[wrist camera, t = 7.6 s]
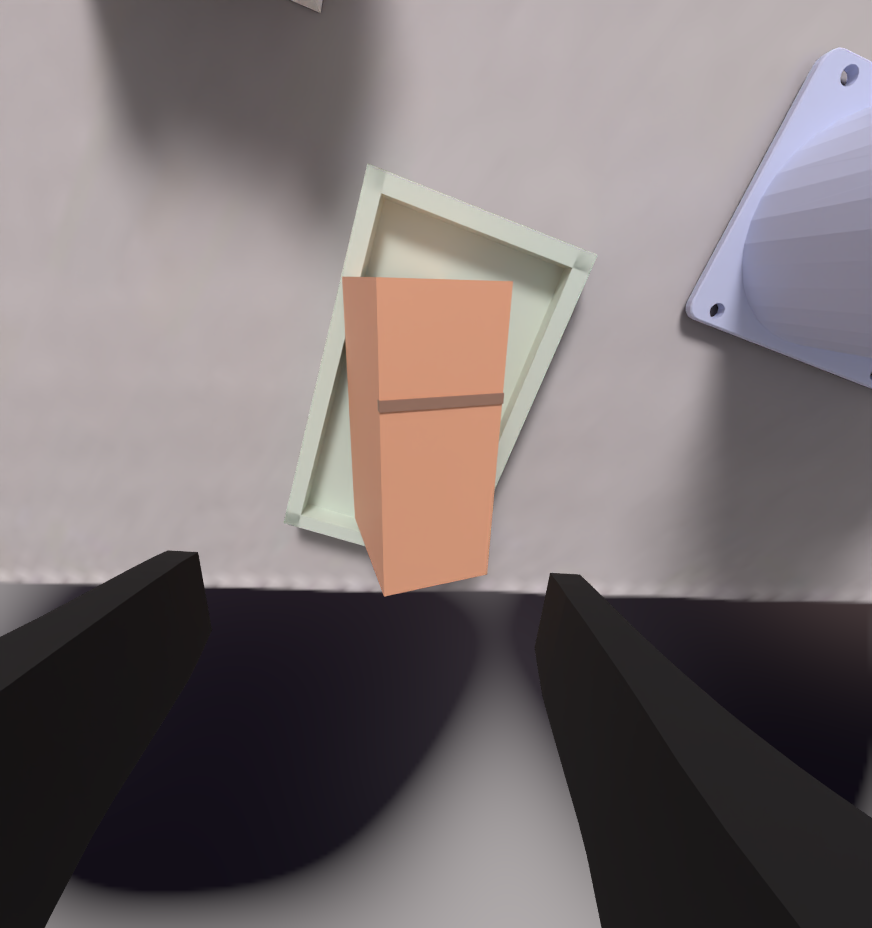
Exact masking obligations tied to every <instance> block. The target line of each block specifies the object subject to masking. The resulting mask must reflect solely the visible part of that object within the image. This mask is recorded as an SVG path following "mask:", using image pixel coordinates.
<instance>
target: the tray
mask: <svg viewBox="0 0 872 928" xmlns="http://www.w3.org/2000/svg"><path fill="white" fill-rule="evenodd" d="M596 258H597V255H596V254H594V253H591V252H589V251H586V250H584V249H581V248H579V247H576V246H574V245H571V244H569V243H566V242H563V241H561V240H558V239H556V238H553V237H551V236H548V235H546V234H543V233H541V232H538V231H536V230H533V229H531V228H528V227H526V226H523V225H521V224H518V223H516V222H513V221H511V220H508V219H506V218H503V217H501V216H498V215H495V214H493V213H490V212H488V211H485V210H483V209H480V208H478V207H475V206H473V205H470V204H468V203H465V202H463V201H460V200H458V199H455V198H453V197H450V196H448V195H445V194H443V193H440V192H438V191H435V190H433V189H430V188H428V187H425V186H422V185H420V184H417V183H415V182H412V181H410V180H407V179H405V178H402V177H400V176H397V175H395V174H392V173H390V172H387V171H385V170H382V169H380V168H377V167H375V166H372V165H370V164H367V168H366V172H365V176H364V181H363V185H362V189H361V194H360V198H359V202H358V206H357V211H356V215H355V219H354V223H353V228H352V232H351V236H350V241H349V245H348V249H347V253H346V258H345V262H344V266H343V271H342V275H341V279H340V283H339V288H338V292H337V296H336V301H335V305H334V309H333V313H332V318H331V322H330V326H329V331H328V335H327V339H326V343H325V348H324V352H323V356H322V360H321V365H320V369H319V373H318V378H317V382H316V386H315V390H314V395H313V399H312V403H311V408H310V412H309V416H308V420H307V425H306V429H305V433H304V438H303V442H302V446H301V450H300V455H299V459H298V463H297V468H296V472H295V476H294V480H293V485H292V489H291V493H290V497H289V502H288V506H287V510H286V515H285V519H284V523H285V524H289V525H292V526H296V527H299V528H303V529H306V530H310V531H313V532H317V533H320V534H324V535H327V536H331V537H334V538H338V539H341V540H345V541H349V542H352V543H356V544H359V545H363V546H365V544H364V541H363V538H362V536H361V533H360V530H359V528H358V525H357V522H356V519H355V511H354V492H353V474H352V455H351V436H350V417H349V398H348V379H347V361H346V342H345V323H344V304H343V285H342V277H388V278H421V279H454V280H487V281H513V287H512V299H511V310H510V321H509V332H508V343H507V355H506V366H505V377H504V388H503V393H504V402H503V404H502V411H501V422H500V433H499V444H498V456H497V467H496V478H495V488H496V485H497V483H498V481H499V478H500V476H501V474H502V472H503V469H504V467H505V465H506V463H507V460H508V458H509V456H510V453H511V451H512V449H513V447H514V444H515V442H516V440H517V437H518V435H519V433H520V431H521V428H522V426H523V424H524V422H525V419H526V417H527V415H528V412H529V410H530V408H531V406H532V403H533V401H534V399H535V397H536V394H537V392H538V390H539V387H540V385H541V383H542V381H543V378H544V376H545V374H546V371H547V369H548V367H549V365H550V362H551V360H552V358H553V356H554V353H555V351H556V349H557V346H558V344H559V342H560V340H561V337H562V335H563V333H564V330H565V328H566V326H567V324H568V321H569V319H570V317H571V315H572V312H573V310H574V308H575V305H576V303H577V301H578V299H579V296H580V294H581V292H582V289H583V287H584V285H585V283H586V280H587V278H588V276H589V274H590V271H591V269H592V267H593V264H594V262H595V260H596ZM494 490H495V489H494Z"/></svg>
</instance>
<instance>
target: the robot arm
mask: <svg viewBox="0 0 872 928" xmlns="http://www.w3.org/2000/svg"><path fill="white" fill-rule="evenodd" d="M843 70H844V71H845V72H846V73H847V82H846V85H845V86H843V85H842V84H841V82H840V76H841V73H842V71H843ZM714 304H717V305H718V311H717V313H716V314H715V316H713V317H711V316H710V313H709V312H710V309H711V307H712V306H713V305H714ZM686 313H687V315H688V317H690V318H691V319H693V320H696V321H698V322H701V323H703V324H706V325H709V326H711V327H714V328H716V329H719V330H721V331H724V332H727V333H729V334H732V335H734V336H737V337H739V338H742V339H745V340H747V341H750V342H752V343H755V344H757V345H760V346H763V347H765V348H768V349H770V350H773V351H775V352H778V353H781V354H783V355H786V356H788V357H791V358H793V359H796V360H799V361H801V362H804V363H806V364H809V365H811V366H814V367H817V368H819V369H822V370H824V371H827V372H830V373H832V374H835V375H837V376H840V377H842V378H845V379H848V380H850V381H853V382H855V383H858V384H860V385H863V386H866V387H868V388H871V389H872V376H871V377H870V374H871V372H872V62H871V61H869V60H867V59H865V58H863V57H861V56H859V55H857V54H855V53H853V52H851V51H849V50H847V49H845V48H840V47H839V48H836V49H833V50H831V51H829V52H827V53H826V54H824V55H823V56H821V57H820V58H819V59H818V60H817V61H816V62H815V64H814V65H813V66H812V68H811V70H810V72H809V74H808V76H807V77H806V79H805V81H804V83H803V85H802V87H801V89H800V91H799V92H798V94H797V96H796V98H795V100H794V102H793V104H792V106H791V107H790V109H789V111H788V113H787V115H786V117H785V119H784V121H783V122H782V124H781V126H780V128H779V130H778V132H777V134H776V136H775V137H774V139H773V141H772V143H771V145H770V147H769V149H768V151H767V153H766V154H765V156H764V158H763V160H762V162H761V164H760V166H759V168H758V169H757V171H756V173H755V175H754V177H753V179H752V181H751V183H750V184H749V186H748V188H747V190H746V192H745V194H744V196H743V198H742V199H741V201H740V203H739V205H738V207H737V209H736V211H735V213H734V214H733V216H732V218H731V220H730V222H729V224H728V226H727V228H726V230H725V231H724V233H723V235H722V237H721V239H720V241H719V243H718V245H717V246H716V248H715V250H714V252H713V254H712V256H711V258H710V260H709V261H708V263H707V265H706V267H705V269H704V271H703V273H702V275H701V276H700V278H699V280H698V282H697V284H696V286H695V288H694V290H693V291H692V293H691V295H690V297H689V299H688V301H687V304H686ZM211 631H212V628H211V623H210V617H209V611H208V606H207V600H206V594H205V589H204V583H203V578H202V572H201V566H200V561H199V555H198V552H184V551H166V552H163V553H161V554H159V555H157V556H155V557H153V558H151V559H149V560H147V561H145V562H143V563H141V564H139V565H137V566H135V567H133V568H131V569H129V570H127V571H125V572H124V573H122V574H120V575H118V576H116V577H114V578H112V579H110V580H109V581H107V582H105V583H103V584H101V585H99V586H97V587H96V588H94V589H92V590H90V591H88V592H86V593H84V594H82V595H81V596H79V597H77V598H75V599H73V600H71V601H69V602H68V603H66V604H64V605H62V606H60V607H58V608H56V609H54V610H53V611H51V612H49V613H47V614H45V615H43V616H41V617H39V618H37V619H35V620H33V621H31V622H29V623H27V624H25V625H24V626H21V627H19V628H17V629H15V630H13V631H11V632H10V633H7V634H5V635H3V636H1V637H0V928H45V926H46V924H47V922H48V920H49V918H50V916H51V914H52V912H53V910H54V908H55V906H56V904H57V902H58V900H59V898H60V897H61V895H62V893H63V891H64V889H65V887H66V885H67V883H68V881H69V879H70V878H71V876H72V874H73V872H74V870H75V868H76V866H77V864H78V862H79V860H80V858H81V856H82V855H83V853H84V851H85V849H86V847H87V845H88V843H89V841H90V839H91V837H92V836H93V834H94V832H95V830H96V829H97V827H98V825H99V824H100V822H101V820H102V818H103V817H104V815H105V813H106V812H107V810H108V808H109V807H110V805H111V803H112V801H113V800H114V798H115V797H116V795H117V794H118V792H119V790H120V789H121V787H122V786H123V784H124V782H125V781H126V779H127V778H128V776H129V775H130V773H131V771H132V770H133V768H134V767H135V765H136V763H137V762H138V760H139V758H140V757H141V755H142V754H143V752H144V751H145V749H146V748H147V746H148V744H149V743H150V741H151V740H152V738H153V736H154V735H155V733H156V732H157V730H158V728H159V727H160V725H161V724H162V722H163V721H164V719H165V717H166V716H167V714H168V712H169V711H170V709H171V708H172V706H173V704H174V703H175V701H176V700H177V698H178V696H179V695H180V693H181V691H182V690H183V688H184V686H185V685H186V683H187V681H188V680H189V678H190V676H191V674H192V672H193V670H194V668H195V666H196V664H197V662H198V660H199V658H200V655H201V653H202V651H203V649H204V646H205V644H206V642H207V640H208V637H209V635H210V633H211ZM535 653H536V660H537V666H538V673H539V678H540V684H541V690H542V696H543V700H544V703H545V707H546V711H547V714H548V718H549V721H550V725H551V729H552V732H553V735H554V739H555V743H556V746H557V750H558V753H559V757H560V760H561V764H562V767H563V771H564V774H565V778H566V781H567V784H568V788H569V791H570V795H571V798H572V801H573V805H574V808H575V812H576V816H577V819H578V822H579V826H580V830H581V834H582V838H583V842H584V846H585V850H586V854H587V859H588V863H589V868H590V873H591V878H592V883H593V888H594V893H595V898H596V903H597V907H598V912H599V918H600V922H601V927H602V928H872V818H871V817H869V816H868V815H866V814H865V813H864V812H862V811H861V810H859V809H858V808H856V807H855V806H854V805H852V804H851V803H849V802H848V801H846V800H845V799H843V798H842V797H841V796H839V795H837V794H836V793H835V792H833V791H832V790H830V789H829V788H828V787H826V786H825V785H823V784H822V783H821V782H819V781H818V780H817V779H815V778H814V777H812V776H811V775H809V774H808V773H807V772H805V771H804V770H803V769H801V768H800V767H799V766H797V765H796V764H795V763H793V762H792V761H791V760H789V759H788V758H787V757H785V756H784V755H783V754H782V753H780V752H779V751H778V750H776V749H775V748H774V747H772V746H771V745H770V744H768V743H767V742H766V741H765V740H763V739H762V738H761V737H759V736H758V735H757V734H756V733H754V732H753V731H752V730H750V729H749V728H748V727H747V726H745V725H744V724H743V723H741V722H740V721H739V720H738V719H737V718H735V717H734V716H733V715H732V714H730V713H729V712H728V711H727V710H725V709H724V708H723V707H722V706H721V705H719V704H718V703H717V702H716V701H715V700H713V699H712V698H711V697H710V696H709V695H708V694H707V693H705V692H704V691H703V690H702V689H701V688H700V687H698V686H697V685H696V684H695V683H694V682H693V681H691V680H690V679H689V678H688V677H687V676H686V675H684V674H683V673H682V672H681V671H680V670H679V669H678V668H677V667H676V666H674V665H673V664H672V663H671V662H670V661H669V660H668V659H667V658H666V657H665V656H664V655H662V654H661V653H660V652H659V651H658V650H657V649H656V648H655V647H654V646H653V645H652V644H651V643H650V642H648V640H646V639H645V638H644V637H643V636H642V635H641V634H640V633H639V632H638V631H637V630H636V629H635V628H634V627H633V626H632V625H631V624H630V623H629V622H628V621H627V620H626V619H625V618H624V617H623V616H622V615H621V614H620V613H619V612H618V611H617V610H615V608H614V607H612V606H611V605H610V604H609V603H608V602H607V601H606V600H605V599H604V598H603V597H602V596H601V595H600V594H599V593H598V592H597V591H596V590H595V589H594V588H593V587H592V586H591V585H590V584H589V583H588V582H587V581H586V580H585V579H584V578H583V577H582V576H581V575H577V574H560V573H550V576H549V581H548V586H547V591H546V596H545V601H544V606H543V611H542V615H541V620H540V625H539V630H538V634H537V639H536V644H535Z"/></svg>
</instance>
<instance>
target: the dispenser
mask: <svg viewBox="0 0 872 928" xmlns="http://www.w3.org/2000/svg"><path fill="white" fill-rule="evenodd" d="M291 1H294V2H296V3H298V4H301V5H303V6H305V7H308V8H310V9H312V10H314V11H317V12H319V13H321V7H322V2H323V0H291Z"/></svg>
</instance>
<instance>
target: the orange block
mask: <svg viewBox="0 0 872 928" xmlns="http://www.w3.org/2000/svg"><path fill="white" fill-rule="evenodd" d="M342 285H343V304H344V323H345V342H346V361H347V379H348V398H349V417H350V436H351V455H352V474H353V492H354V511H355V519H356V522H357V525H358V528H359V530H360V533H361V536H362V538H363V541H364V544H365V546H366V549H367V552H368V554H369V557H370V560H371V562H372V565H373V568H374V571H375V573H376V576H377V579H378V581H379V584H380V587H381V589H382V592H383V595H384V596H389V595H393V594H398V593H402V592H407V591H412V590H417V589H421V588H426V587H431V586H435V585H440V584H445V583H449V582H454V581H459V580H463V579H468V578H473V577H477V576H482V575H487V568H488V556H489V545H490V534H491V523H492V512H493V500H494V489H495V478H496V467H497V456H498V444H499V433H500V422H501V411H502V404H503V402H504V393H503V388H504V377H505V366H506V355H507V343H508V332H509V321H510V310H511V299H512V287H513V281H487V280H454V279H421V278H388V277H342Z"/></svg>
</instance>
